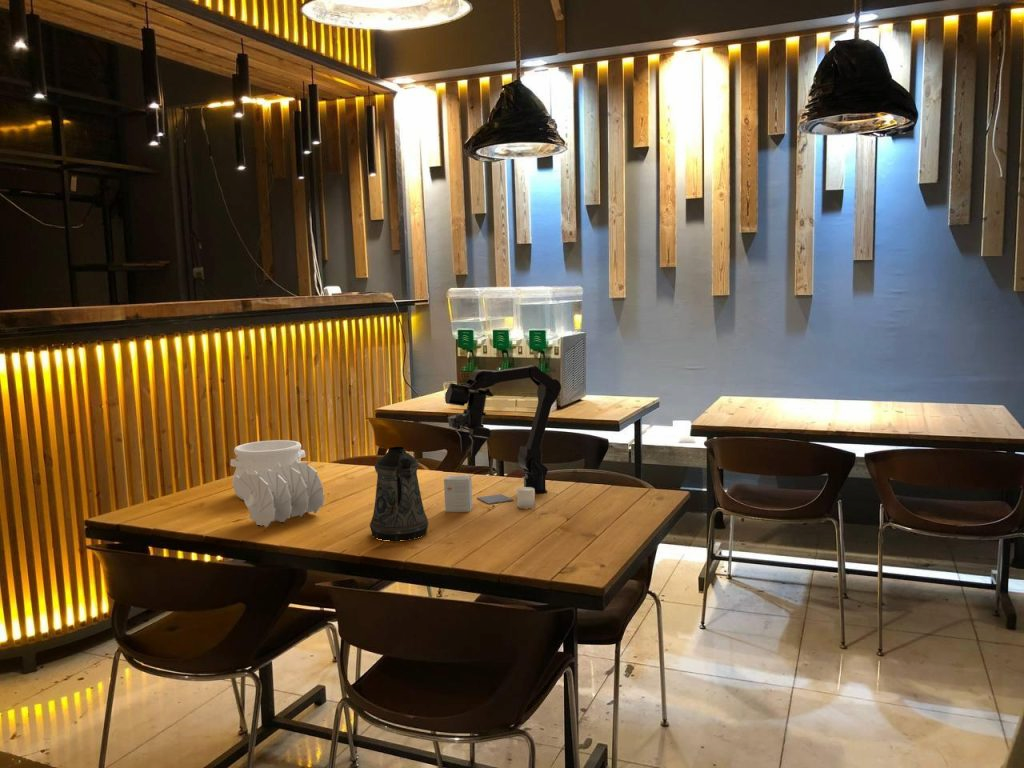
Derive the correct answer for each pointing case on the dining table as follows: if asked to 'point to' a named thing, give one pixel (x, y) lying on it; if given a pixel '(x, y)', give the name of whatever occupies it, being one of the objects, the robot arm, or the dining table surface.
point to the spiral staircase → (280, 492)
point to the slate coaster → (495, 499)
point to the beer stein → (398, 498)
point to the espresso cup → (526, 497)
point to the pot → (265, 456)
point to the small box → (458, 493)
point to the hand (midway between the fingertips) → (468, 454)
